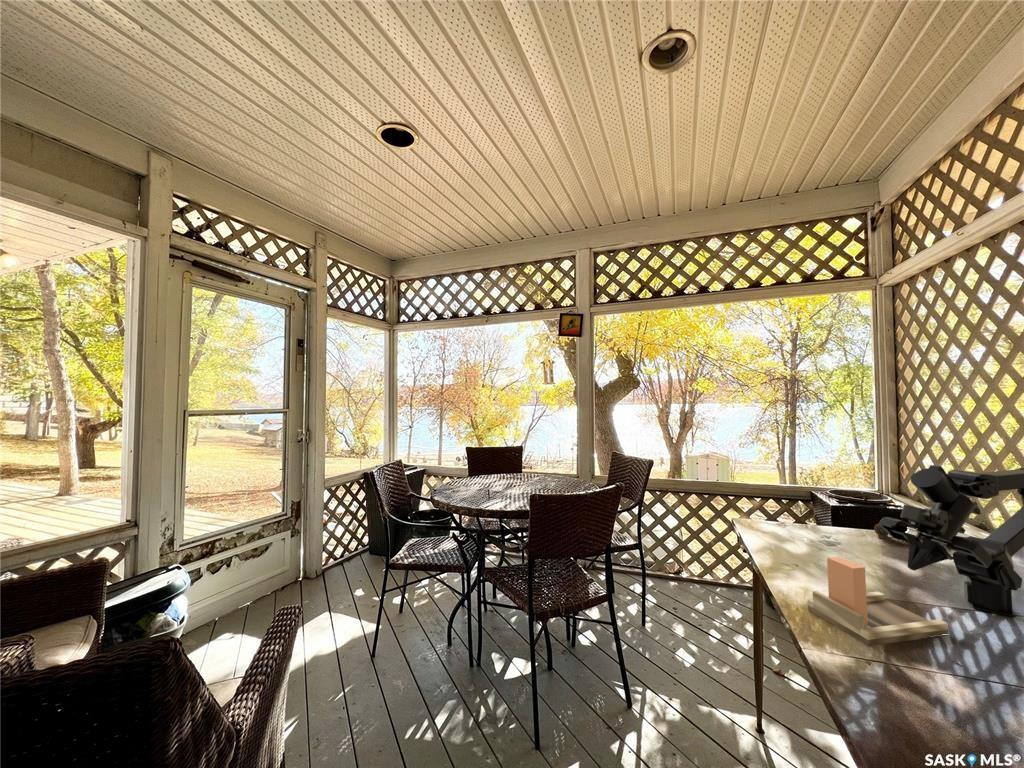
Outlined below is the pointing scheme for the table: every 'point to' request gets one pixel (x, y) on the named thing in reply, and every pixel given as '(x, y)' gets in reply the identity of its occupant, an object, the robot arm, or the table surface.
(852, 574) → the tall block
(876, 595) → the open-ended rail tray
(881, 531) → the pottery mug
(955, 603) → the table surface
